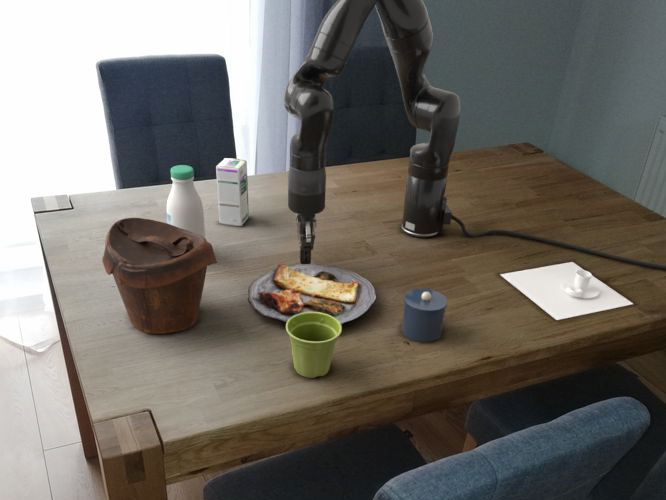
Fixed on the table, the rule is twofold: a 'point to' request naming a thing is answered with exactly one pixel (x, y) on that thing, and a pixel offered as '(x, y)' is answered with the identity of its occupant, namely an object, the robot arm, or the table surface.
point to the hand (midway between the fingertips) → (305, 262)
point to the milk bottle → (185, 202)
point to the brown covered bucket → (158, 272)
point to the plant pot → (313, 342)
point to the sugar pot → (423, 314)
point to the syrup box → (232, 191)
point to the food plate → (311, 292)
